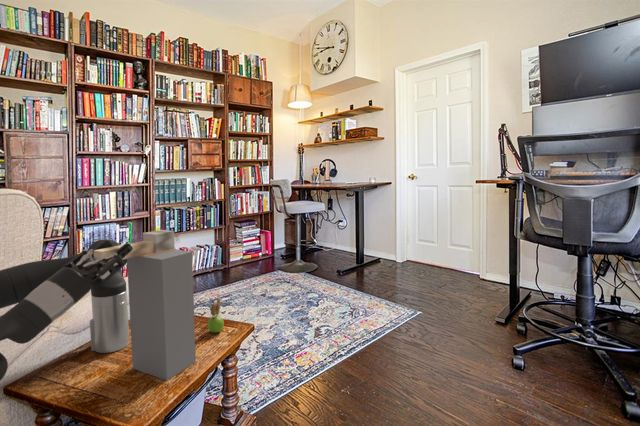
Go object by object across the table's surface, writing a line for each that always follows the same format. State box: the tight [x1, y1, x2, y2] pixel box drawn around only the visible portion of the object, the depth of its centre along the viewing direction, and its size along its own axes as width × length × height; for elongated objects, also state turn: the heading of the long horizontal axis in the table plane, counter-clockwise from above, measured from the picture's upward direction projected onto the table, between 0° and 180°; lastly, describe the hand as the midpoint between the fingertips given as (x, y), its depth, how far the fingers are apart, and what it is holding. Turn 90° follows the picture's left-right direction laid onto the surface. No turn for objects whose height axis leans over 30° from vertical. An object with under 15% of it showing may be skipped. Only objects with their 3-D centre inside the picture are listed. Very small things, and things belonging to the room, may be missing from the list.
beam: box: [93, 229, 176, 264], centre depth 89 cm, size 20×5×5 cm, turn 155°
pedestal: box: [126, 248, 197, 381], centre depth 95 cm, size 10×13×32 cm
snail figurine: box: [206, 293, 225, 334], centre depth 117 cm, size 5×6×12 cm
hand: (119, 244), depth 85 cm, fingers open, 7 cm apart
